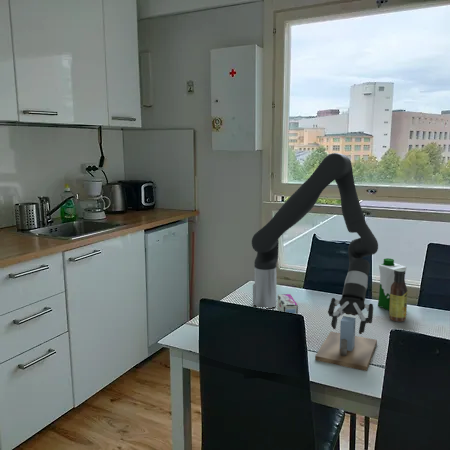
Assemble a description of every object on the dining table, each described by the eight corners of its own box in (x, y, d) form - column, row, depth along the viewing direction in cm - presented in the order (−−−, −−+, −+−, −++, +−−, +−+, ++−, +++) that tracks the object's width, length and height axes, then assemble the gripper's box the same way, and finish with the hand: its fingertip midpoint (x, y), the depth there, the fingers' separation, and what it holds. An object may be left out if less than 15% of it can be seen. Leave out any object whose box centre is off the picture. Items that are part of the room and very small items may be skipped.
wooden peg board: (315, 360, 142) (315, 341, 140) (330, 335, 159) (330, 318, 158) (366, 371, 135) (367, 351, 133) (376, 343, 152) (377, 326, 151)
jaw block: (339, 348, 146) (340, 320, 144) (342, 343, 149) (343, 316, 147) (352, 351, 144) (353, 322, 142) (354, 346, 147) (355, 318, 146)
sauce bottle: (407, 323, 168) (410, 273, 164) (390, 322, 169) (393, 272, 166) (404, 316, 174) (407, 268, 171) (387, 315, 176) (390, 267, 172)
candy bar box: (297, 351, 148) (298, 305, 145) (283, 352, 148) (283, 305, 144) (290, 336, 159) (290, 293, 156) (276, 337, 158) (276, 293, 155)
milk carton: (389, 301, 190) (391, 256, 186) (406, 308, 182) (409, 262, 178) (374, 305, 186) (376, 259, 182) (391, 312, 178) (394, 265, 174)
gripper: (333, 279, 153) (323, 322, 145) (376, 284, 147) (368, 330, 139) (336, 289, 159) (327, 331, 151) (377, 294, 152) (370, 339, 145)
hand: (346, 330), depth 145 cm, fingers open, 8 cm apart
